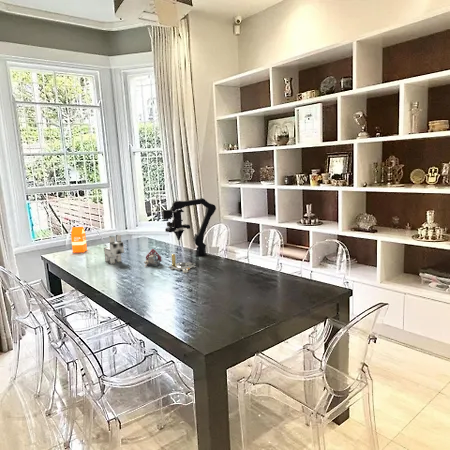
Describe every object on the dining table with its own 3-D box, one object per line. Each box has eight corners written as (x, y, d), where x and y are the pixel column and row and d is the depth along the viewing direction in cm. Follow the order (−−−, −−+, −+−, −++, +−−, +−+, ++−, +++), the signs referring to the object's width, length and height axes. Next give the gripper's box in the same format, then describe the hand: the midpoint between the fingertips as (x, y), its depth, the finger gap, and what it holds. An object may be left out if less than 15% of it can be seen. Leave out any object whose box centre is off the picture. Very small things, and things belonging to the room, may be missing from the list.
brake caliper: (165, 259, 271) (160, 248, 262) (161, 271, 263) (155, 261, 255) (150, 258, 273) (144, 247, 265) (145, 271, 266) (139, 260, 257)
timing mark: (182, 271, 247) (182, 268, 247) (187, 271, 248) (187, 268, 248) (183, 272, 244) (183, 269, 244) (188, 272, 245) (188, 269, 245)
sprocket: (166, 265, 262) (165, 252, 261) (191, 261, 269) (190, 249, 268) (173, 271, 246) (172, 258, 245) (199, 268, 253) (199, 255, 251)
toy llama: (113, 258, 286) (111, 232, 282) (124, 263, 273) (122, 235, 269) (103, 261, 281) (101, 233, 277) (114, 265, 268) (112, 236, 264)
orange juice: (83, 252, 310) (81, 227, 307) (72, 252, 311) (70, 227, 307) (87, 249, 318) (84, 225, 315) (76, 250, 318) (73, 226, 315)
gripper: (180, 216, 290) (181, 236, 293) (160, 219, 277) (161, 240, 280) (190, 217, 282) (191, 238, 285) (169, 220, 269) (171, 242, 272)
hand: (178, 239), depth 281 cm, fingers closed
